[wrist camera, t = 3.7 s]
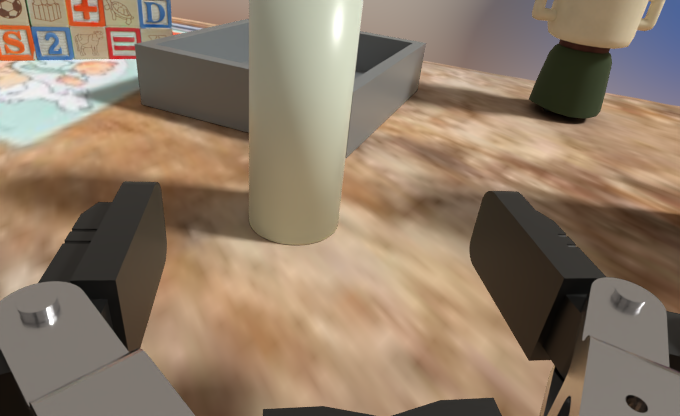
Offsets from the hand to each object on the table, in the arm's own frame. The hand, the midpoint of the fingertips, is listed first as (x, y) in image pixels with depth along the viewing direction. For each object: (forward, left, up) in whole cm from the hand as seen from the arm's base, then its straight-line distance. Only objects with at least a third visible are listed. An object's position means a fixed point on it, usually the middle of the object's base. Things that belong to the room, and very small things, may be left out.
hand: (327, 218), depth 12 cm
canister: (-5, +10, -7) cm, 13 cm away
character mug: (+8, +40, -7) cm, 41 cm away
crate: (-14, +28, -7) cm, 32 cm away
